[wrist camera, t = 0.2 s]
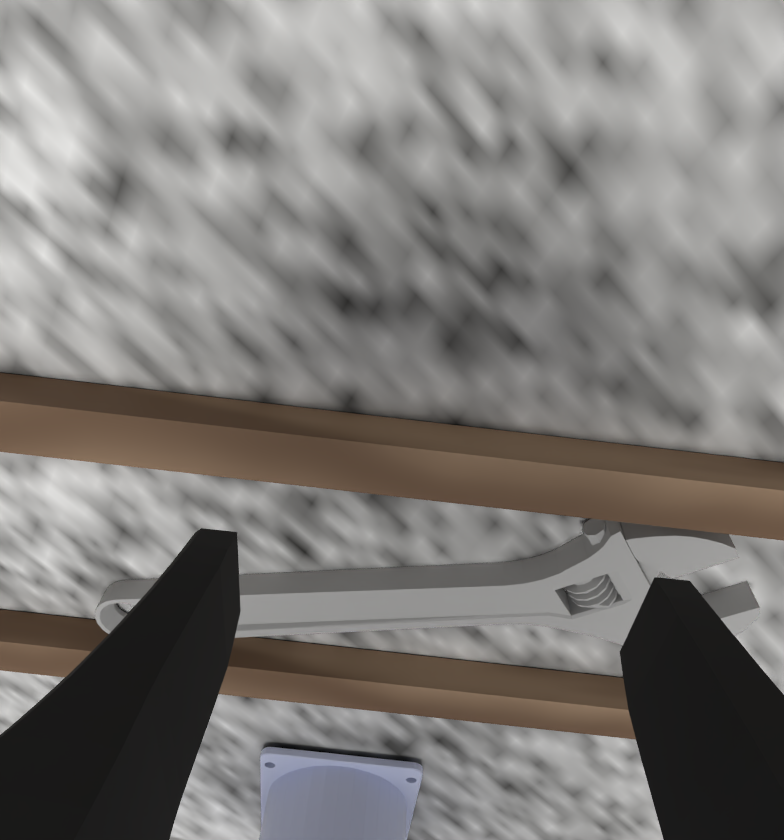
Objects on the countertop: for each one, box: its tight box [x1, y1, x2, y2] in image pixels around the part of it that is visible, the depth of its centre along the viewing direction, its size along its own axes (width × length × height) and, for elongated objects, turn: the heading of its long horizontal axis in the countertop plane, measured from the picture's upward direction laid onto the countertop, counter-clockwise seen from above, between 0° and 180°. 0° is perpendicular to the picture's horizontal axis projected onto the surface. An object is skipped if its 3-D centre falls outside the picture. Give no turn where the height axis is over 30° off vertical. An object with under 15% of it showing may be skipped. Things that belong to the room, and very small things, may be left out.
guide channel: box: [0, 373, 784, 739], centre depth 25 cm, size 14×38×2 cm, turn 84°
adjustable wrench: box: [95, 519, 760, 645], centre depth 26 cm, size 25×6×2 cm, turn 93°
